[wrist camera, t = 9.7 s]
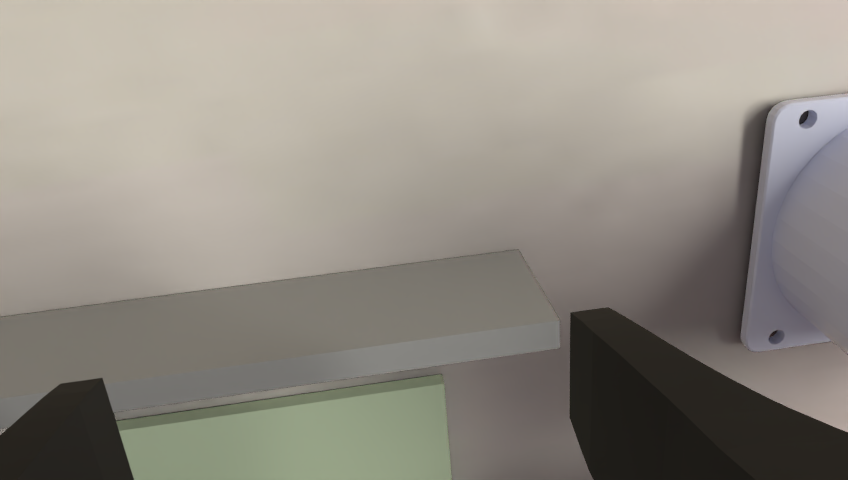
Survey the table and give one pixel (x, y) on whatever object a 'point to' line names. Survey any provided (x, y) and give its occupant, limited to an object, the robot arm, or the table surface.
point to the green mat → (301, 437)
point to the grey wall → (279, 333)
